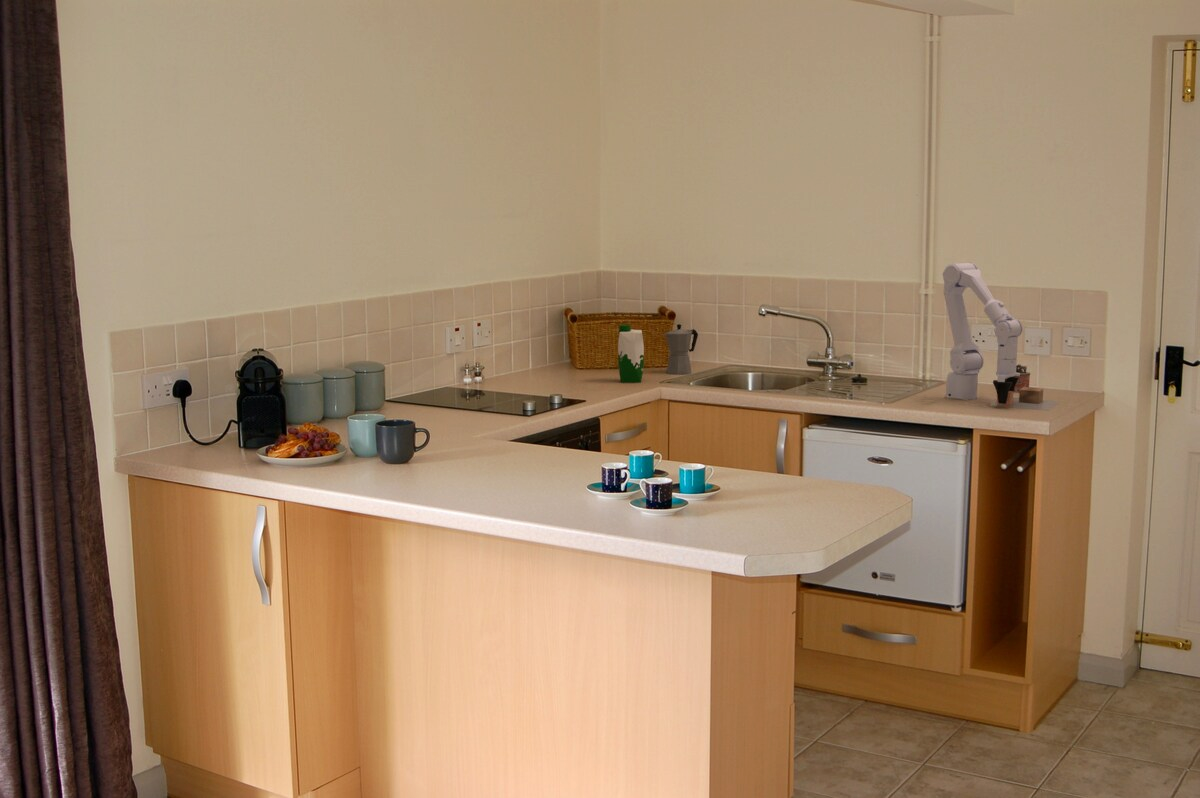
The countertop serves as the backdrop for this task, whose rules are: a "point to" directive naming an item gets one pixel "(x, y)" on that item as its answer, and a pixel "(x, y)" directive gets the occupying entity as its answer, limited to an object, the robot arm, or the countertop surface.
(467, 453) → the countertop surface
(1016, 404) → the baseplate
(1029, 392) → the base brick
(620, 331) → the milk carton
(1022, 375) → the lighter
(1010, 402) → the top brick
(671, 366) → the coffeepot
